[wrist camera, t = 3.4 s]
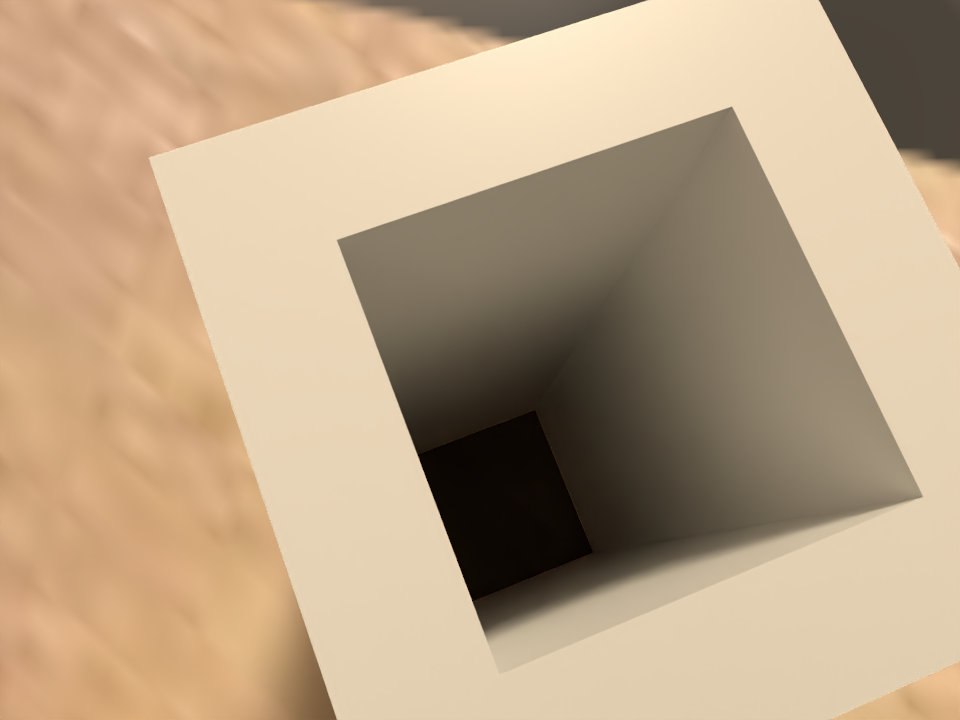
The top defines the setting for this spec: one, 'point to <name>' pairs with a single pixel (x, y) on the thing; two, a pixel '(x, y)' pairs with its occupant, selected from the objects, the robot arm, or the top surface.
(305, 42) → the top surface
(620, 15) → the sleeve
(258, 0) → the top surface
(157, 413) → the top surface
